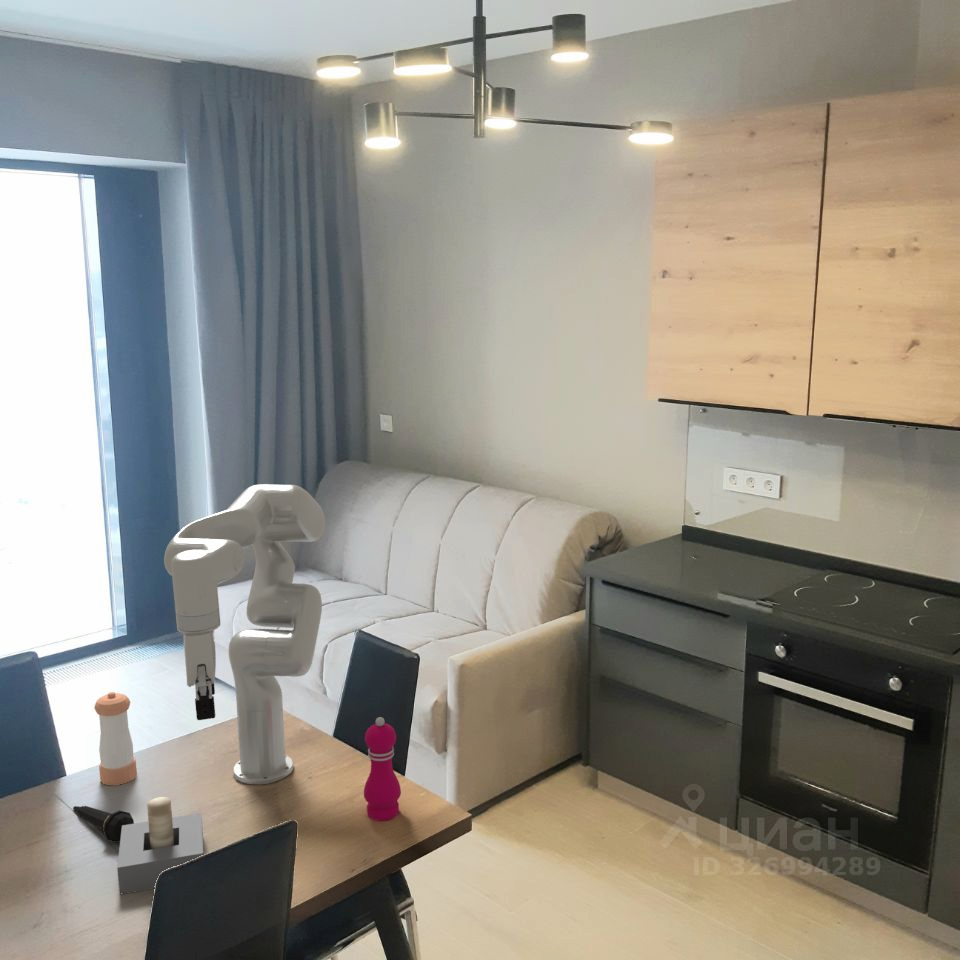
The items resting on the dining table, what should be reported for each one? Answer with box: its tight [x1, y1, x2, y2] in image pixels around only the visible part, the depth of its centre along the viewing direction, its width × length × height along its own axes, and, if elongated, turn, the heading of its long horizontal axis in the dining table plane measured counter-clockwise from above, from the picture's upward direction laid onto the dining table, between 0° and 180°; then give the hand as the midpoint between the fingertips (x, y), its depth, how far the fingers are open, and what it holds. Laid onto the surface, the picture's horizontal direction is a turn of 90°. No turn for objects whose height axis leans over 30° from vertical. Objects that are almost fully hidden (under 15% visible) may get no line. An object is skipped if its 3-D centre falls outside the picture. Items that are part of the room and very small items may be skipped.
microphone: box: [72, 805, 135, 843], centre depth 184 cm, size 6×6×20 cm
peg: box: [146, 796, 174, 850], centre depth 170 cm, size 4×4×12 cm
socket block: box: [117, 812, 205, 895], centre depth 170 cm, size 14×14×5 cm
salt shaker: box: [94, 691, 138, 786], centre depth 201 cm, size 7×7×19 cm
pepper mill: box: [363, 716, 402, 822], centre depth 186 cm, size 7×7×20 cm
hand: (206, 706), depth 175 cm, fingers open, 9 cm apart
